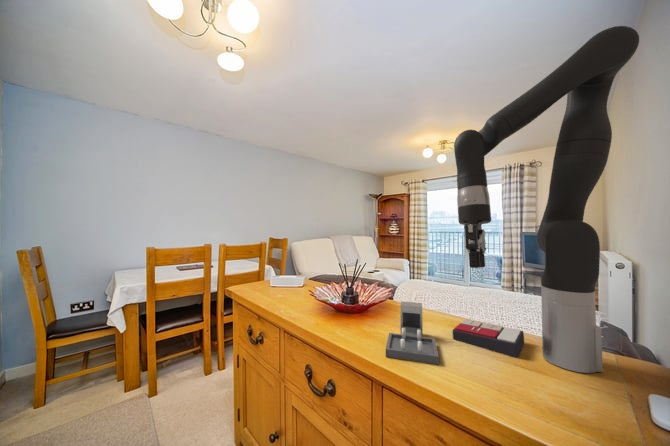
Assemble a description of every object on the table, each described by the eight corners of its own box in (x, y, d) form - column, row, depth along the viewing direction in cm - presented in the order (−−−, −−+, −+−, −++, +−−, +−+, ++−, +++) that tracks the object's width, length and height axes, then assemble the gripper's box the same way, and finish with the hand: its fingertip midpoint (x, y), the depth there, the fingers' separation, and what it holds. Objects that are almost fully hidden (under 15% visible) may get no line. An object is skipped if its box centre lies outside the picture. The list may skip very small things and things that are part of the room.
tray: (434, 345, 66) (434, 330, 66) (438, 364, 57) (438, 346, 57) (389, 339, 70) (389, 324, 70) (385, 356, 60) (385, 340, 60)
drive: (422, 333, 74) (421, 303, 74) (422, 339, 70) (422, 307, 70) (401, 330, 76) (401, 301, 76) (400, 336, 72) (400, 305, 72)
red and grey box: (464, 317, 78) (523, 328, 68) (465, 331, 78) (524, 344, 67) (451, 327, 70) (516, 341, 60) (452, 342, 70) (518, 359, 59)
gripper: (486, 198, 58) (491, 268, 56) (493, 208, 69) (498, 267, 67) (451, 202, 62) (455, 267, 60) (463, 211, 74) (467, 266, 71)
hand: (477, 267), depth 63 cm, fingers open, 8 cm apart
